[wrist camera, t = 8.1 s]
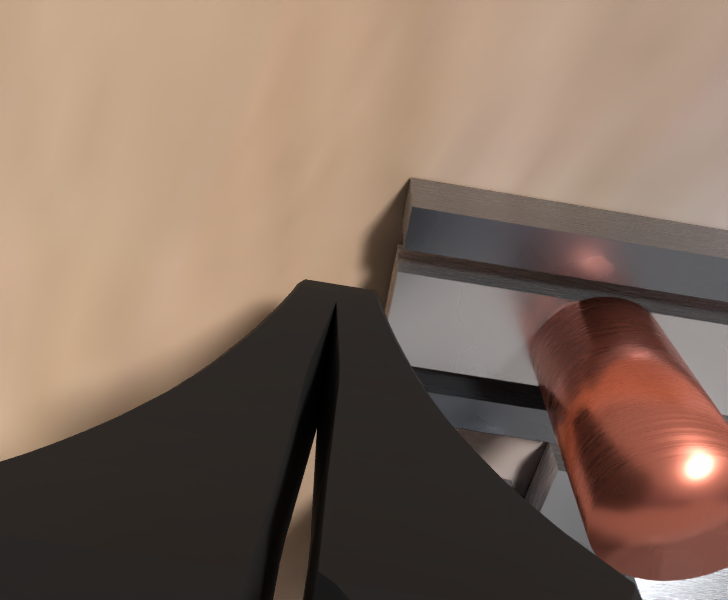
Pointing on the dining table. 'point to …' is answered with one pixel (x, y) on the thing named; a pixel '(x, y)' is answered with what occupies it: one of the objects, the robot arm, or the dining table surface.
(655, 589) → the block
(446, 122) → the dining table surface
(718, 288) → the press
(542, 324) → the lever
